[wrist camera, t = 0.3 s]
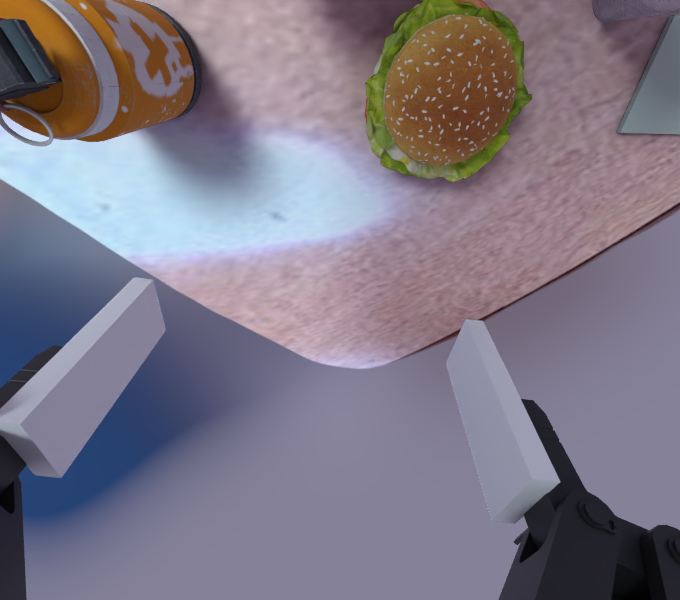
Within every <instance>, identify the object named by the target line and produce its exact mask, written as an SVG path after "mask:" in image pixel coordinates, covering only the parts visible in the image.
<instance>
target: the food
mask: <svg viewBox="0 0 680 600" xmlns="http://www.w3.org/2000/svg"><path fill="white" fill-rule="evenodd" d="M393 33H394V34H392V35H390V36H388V37H386V40H385V44H384V48H383V50H382V54H381V56H380V57H379V60H378V62H377V64H376V66H375V68H374V76H372V77H371V78H369V80H368V81H367V82H366V83H365V84H366V85H367V86H366V95H367V99H366V110H365V117H366V124H367V136H368V138H369V140H370V144H371V150H372V151H373V153H374V154H375V155H376V156H378V157H379V158H380V163H381V165H383V166H384V167H386V168H389V169H391V170H396V171H399V172H401V173H403V174H407V175H413V176H417V177H420V178H427V179H433V178H436V177H444V178H445V179H447V180H448V181H451V182H456V181H459V180H461V179H462V178H463V179H465V178H467V177H469V176H471V175H473V174H474V173H476V172H477V171H478V170H479V169H480V168H482V167H483V166H484V165H485V164H486V163H488V162H489V161H490V160H491V159H492V158H493V157H494V156H495V154H496V153H497V152H498V151H499V150H500V149H501V147H502V146H503V145H504V144H505V143H506V142H507V140H508V139H509V138H510V134H509V133H508V127H509V125H510V123H511V122H512V120H513V118H514V117H516V116H517V115H518V114H519V113H520V111H521V110H522V108H523V107H524V106H525V105H526V104H527V103H529V102H530V101H531V99H532V95H531V94H528V92H527V89H526V87H525V85H524V84H523V70H524V64H523V58H524V41H522V42H521V41H519V36H518V30H517V29H516V28H515V26H514V25H513V23H512V22H511V21H510V20H509V19H508V18H507V17H505V16H504V15H503V14H502V13H500V12H497V11H492V10H491V9H490V8H489V7H488V6H487V4H485V3H484V2H482V1H481V0H423V2H422V3H419V4H417V5H416V6H414V7H413V8H411V9H410V10H408V11H406V12H404V13H403V14H401V15H400V16H399V17H398V18H397V20H396V21H395V23H394V27H393Z"/></svg>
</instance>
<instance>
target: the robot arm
mask: <svg viewBox="0 0 680 600" xmlns="http://www.w3.org/2000/svg"><path fill="white" fill-rule="evenodd" d="M165 330H166V329H165V325H164V321H163V317H162V313H161V309H160V305H159V301H158V297H157V293H156V289H155V285H154V281H153V280H150V279H142V278H133V279H132V280H131V281H130V282H129V283H128V284H127V285H126V286H125V287H124V288H123V289H122V290H121V291H120V292H119V293H118V294H117V295H116V296H115V297H114V298H113V299H112V300H111V301H110V302H109V303H108V304H107V305H106V306H105V307H104V308H103V309H102V310H101V311H100V312H99V313H98V314H97V315H96V316H95V317H94V318H93V319H91V320H90V322H89V323H87V325H85V326H84V327H83V328H82V329H81V330H80V331H79V332H78V333H77V334H76V335H75V336H74V337H73V338H72V339H71V340H70V341H69V342H68V343H67V344H66V345H65V346H64V347H61V346H52V347H51V348H49V349H47V350H46V351H44V352H42V353H40V354H38V355H36V356H35V357H34V358H33V359H32V360H31V361H30V362H29V363H28V364H26V365H25V366H24V367H23V368H22V371H19V372H18V373H17V374H16V375H15V376H14V377H12V378H11V381H10V382H7V383H6V384H5V385H4V386H3V387H2V388H0V600H26V582H25V559H24V536H23V516H22V515H23V514H22V491H21V481H20V479H19V477H18V475H19V474H20V472H21V471H22V470H23V469H24V467H25V466H26V465H27V466H28V468H29V469H30V470H31V471H32V472H33V473H34V474H35V475H39V476H49V477H59V478H61V477H62V476H63V475H64V473H65V472H66V471H67V469H68V468H69V466H70V465H71V463H72V462H73V460H74V459H75V458H76V456H77V455H78V454H79V452H80V451H81V449H82V448H83V446H84V445H85V443H86V442H87V441H88V439H89V438H90V437H91V435H92V434H93V432H94V431H95V429H96V428H97V427H98V425H99V424H100V422H101V421H102V420H103V418H104V417H105V415H106V414H107V413H108V411H109V410H110V408H111V407H112V405H113V404H114V402H115V401H116V400H117V398H118V397H119V396H120V394H121V393H122V391H123V390H124V388H125V387H126V386H127V384H128V383H129V381H130V380H131V379H132V377H133V376H134V374H135V373H136V371H137V370H138V369H139V367H140V366H141V364H142V363H143V362H144V360H145V359H146V357H147V356H148V354H149V353H150V352H151V350H152V349H153V347H154V346H155V345H156V343H157V342H158V340H159V339H160V337H161V336H162V335H163V333H164V332H165ZM446 366H447V370H448V373H449V377H450V380H451V384H452V387H453V391H454V394H455V398H456V401H457V404H458V408H459V411H460V415H461V418H462V422H463V425H464V429H465V432H466V436H467V439H468V442H469V446H470V449H471V452H472V456H473V460H474V463H475V467H476V470H477V473H478V477H479V480H480V483H481V487H482V491H483V494H484V498H485V501H486V505H487V508H488V511H489V515H490V518H491V521H494V522H504V523H516V522H517V521H518V520H520V519H521V518H522V517H523V516H524V517H525V520H526V522H527V525H528V528H527V529H526V530H525V531H524V532H523V533H522V534H520V535H519V536H518V537H517V538H516V540H515V541H514V543H515V544H517V545H518V544H519V543H520V542H521V543H520V545H519V548H518V551H517V553H516V556H515V559H514V561H513V564H512V567H511V569H510V571H509V574H508V577H507V579H506V582H505V584H504V587H503V590H502V592H501V595H500V597H499V600H680V530H678V529H676V528H673V527H670V526H668V525H658V526H656V527H654V528H653V529H651V530H647V529H644V528H642V527H640V526H637V525H635V524H633V523H630V522H628V521H626V520H623V519H621V518H618V517H617V516H615V515H614V514H613V512H612V511H611V510H610V509H609V507H608V506H607V505H606V504H605V503H604V502H602V501H601V500H600V499H599V498H598V497H596V496H594V495H592V494H591V493H589V492H587V490H586V489H585V487H584V486H583V484H582V482H581V480H580V478H579V476H578V474H577V473H576V471H575V469H574V467H573V465H572V463H571V461H570V459H569V457H568V456H567V454H566V452H565V450H564V448H563V446H562V444H561V443H560V442H559V438H558V437H557V435H556V433H555V431H553V427H552V425H551V423H550V422H549V420H548V418H547V416H546V414H545V413H544V412H543V411H542V410H541V409H540V407H539V406H538V405H537V404H536V403H535V402H534V401H533V400H525V399H520V397H519V395H518V393H517V390H516V388H515V386H514V384H513V382H512V380H511V378H510V376H509V374H508V372H507V369H506V367H505V365H504V364H503V361H502V359H501V357H500V355H499V353H498V351H497V349H496V347H495V344H494V342H493V340H492V338H491V336H490V334H489V332H488V330H487V328H486V326H485V324H484V322H483V321H478V320H470V319H465V322H464V324H463V326H462V328H461V331H460V333H459V335H458V337H457V339H456V342H455V344H454V346H453V348H452V350H451V353H450V355H449V357H448V359H447V361H446Z"/></svg>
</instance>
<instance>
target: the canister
mask: <svg viewBox="0 0 680 600" xmlns="http://www.w3.org/2000/svg"><path fill="white" fill-rule="evenodd" d="M200 88H201V69H200V64H199V60H198V57H197V54H196V51H195V49H194V47H193V44H192V42H191V41H190V39H189V37H188V36H187V34H186V33H185V31H184V30H183V29H182V27H181V26H180V25H179V24H178V23H177V22H176V21H175V20H174V19H173V18H172V17H171V16H169V15H168V14H167V13H166V12H164V11H162V10H161V9H159V8H157V7H155V6H153V5H150V4H147V3H143V2H139V1H136V0H0V125H1V126H2V127H3V128H4V129H5V130H6V131H7V132H8V133H10V134H11V135H12V136H14V137H15V138H17V139H19V140H21V141H23V142H25V143H27V144H30V145H34V146H47V145H49V144H51V143H52V141H53V139H60V140H72V139H77V140H82V141H87V142H99V141H105V140H108V139H112V138H115V137H118V136H121V135H124V134H127V133H130V132H133V131H136V130H140V129H143V128H146V127H149V126H152V125H155V124H158V123H161V122H164V121H167V120H170V119H174V118H177V117H179V116H182V115H184V114H185V113H187V112H188V111H189V110H190V109H191V108H192V107H193V106H194V104H195V103H196V101H197V99H198V96H199V93H200ZM1 112H2V113H4V114H5V115H6V116H8V117H9V118H10V119H12V120H13V121H15V122H16V123H18V124H20V125H21V126H23V127H25V128H27V129H29V130H31V131H33V132H36V133H39V134H41V135H44V136H47V137H50V138H49V140H47V141H44V142H36V141H32V140H29V139H26V138H24V137H22V136H20V135H18V134H17V133H16V132H14V131H13V130H12V129H11V128H9V127H8V125H7V124H6V123H5V122H4V120H3V118H2V115H1Z"/></svg>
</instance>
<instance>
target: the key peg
mask: <svg viewBox="0 0 680 600" xmlns="http://www.w3.org/2000/svg"><path fill="white" fill-rule="evenodd" d="M593 11H594V14H595V16H596V17H597V18H598V19H599V20H601V21H604V22H614V21H620V20H627V19H634V18H641V17H647V16H654V15H661V14H668V13H675V12H680V0H593Z"/></svg>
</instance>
